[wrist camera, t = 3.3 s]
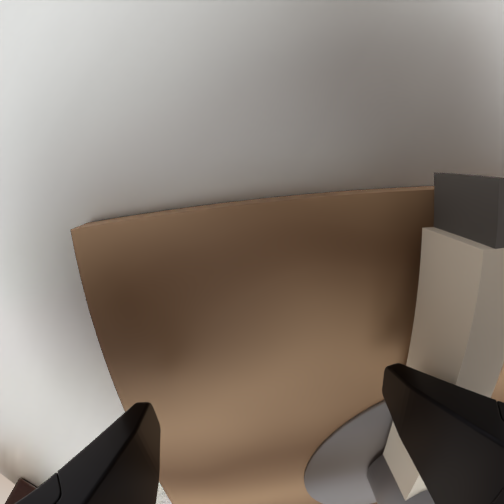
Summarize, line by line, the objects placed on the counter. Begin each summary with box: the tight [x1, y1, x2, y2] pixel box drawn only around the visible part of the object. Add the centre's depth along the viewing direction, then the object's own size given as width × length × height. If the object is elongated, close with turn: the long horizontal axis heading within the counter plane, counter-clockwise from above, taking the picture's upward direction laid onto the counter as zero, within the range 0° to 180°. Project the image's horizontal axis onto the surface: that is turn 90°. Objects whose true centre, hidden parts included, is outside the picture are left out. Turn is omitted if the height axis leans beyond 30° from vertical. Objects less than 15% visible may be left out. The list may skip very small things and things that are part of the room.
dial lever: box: [366, 173, 504, 504], centre depth 8 cm, size 13×3×3 cm, turn 3°
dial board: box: [71, 186, 504, 504], centre depth 11 cm, size 20×21×1 cm
